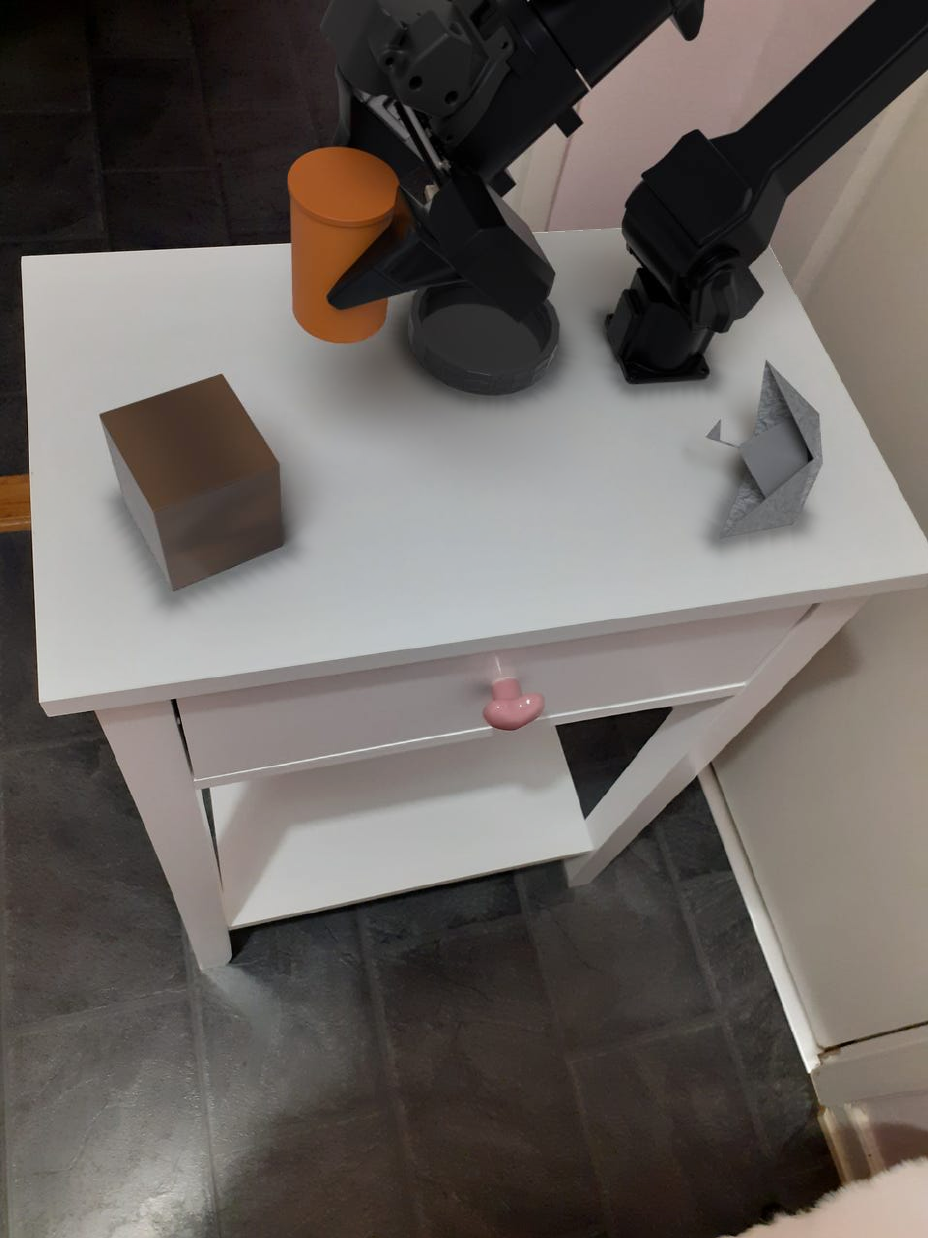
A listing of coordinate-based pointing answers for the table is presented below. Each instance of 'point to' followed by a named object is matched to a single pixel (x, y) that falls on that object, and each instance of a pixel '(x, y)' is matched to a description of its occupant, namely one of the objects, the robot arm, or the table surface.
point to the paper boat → (776, 459)
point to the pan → (480, 340)
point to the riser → (196, 479)
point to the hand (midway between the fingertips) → (315, 266)
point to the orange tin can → (336, 236)
